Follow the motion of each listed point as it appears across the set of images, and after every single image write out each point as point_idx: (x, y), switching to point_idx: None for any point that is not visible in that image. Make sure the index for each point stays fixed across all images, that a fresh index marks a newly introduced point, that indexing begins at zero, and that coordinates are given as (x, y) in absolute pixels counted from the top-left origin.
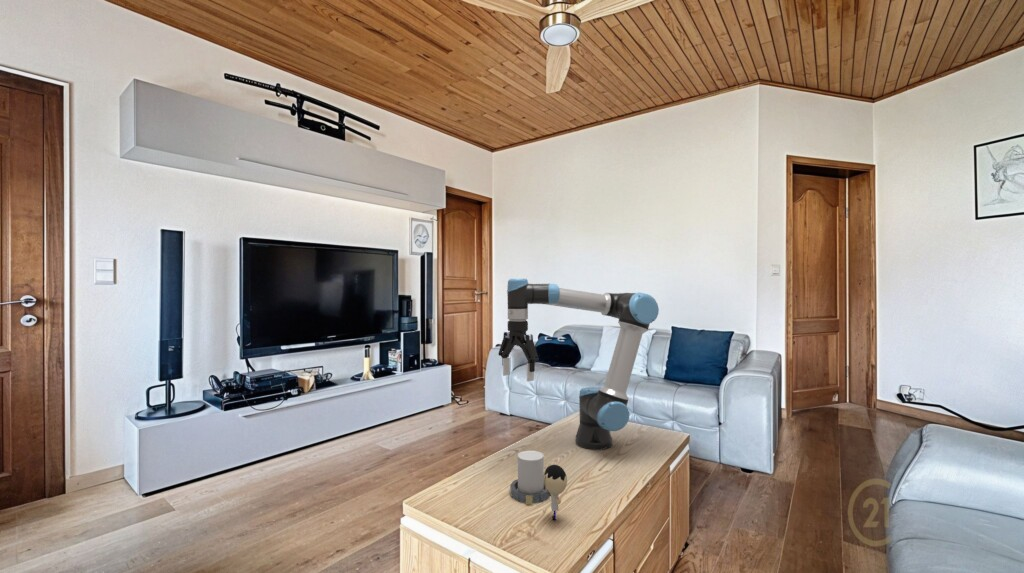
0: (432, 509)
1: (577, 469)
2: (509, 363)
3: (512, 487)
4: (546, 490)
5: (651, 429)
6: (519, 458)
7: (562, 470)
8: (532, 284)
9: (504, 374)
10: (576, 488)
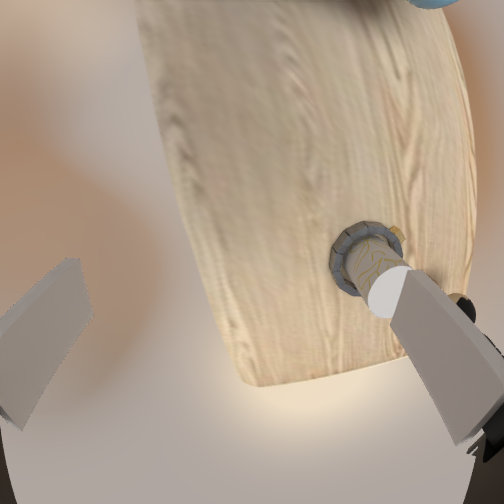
0: (282, 376)
1: (367, 101)
2: (16, 324)
3: (348, 290)
4: (399, 254)
5: None
6: (382, 317)
7: (475, 318)
8: None
9: (89, 318)
10: (413, 181)
